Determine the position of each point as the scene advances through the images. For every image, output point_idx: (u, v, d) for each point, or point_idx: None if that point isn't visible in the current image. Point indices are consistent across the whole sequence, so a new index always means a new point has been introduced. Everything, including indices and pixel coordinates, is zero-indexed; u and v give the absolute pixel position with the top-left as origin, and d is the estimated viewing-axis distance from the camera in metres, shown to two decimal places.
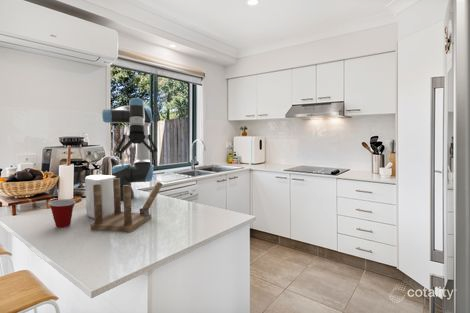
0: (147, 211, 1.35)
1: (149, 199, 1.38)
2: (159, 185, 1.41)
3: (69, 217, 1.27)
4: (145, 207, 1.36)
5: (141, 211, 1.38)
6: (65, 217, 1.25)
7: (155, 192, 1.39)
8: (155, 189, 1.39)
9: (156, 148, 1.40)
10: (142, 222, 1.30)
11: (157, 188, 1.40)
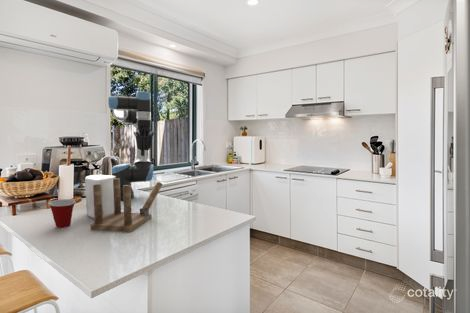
0: (147, 211, 1.35)
1: (149, 199, 1.38)
2: (159, 185, 1.41)
3: (69, 217, 1.27)
4: (145, 207, 1.36)
5: (141, 211, 1.38)
6: (65, 217, 1.25)
7: (155, 192, 1.39)
8: (155, 189, 1.39)
9: (150, 146, 1.53)
10: (142, 222, 1.30)
11: (157, 188, 1.40)
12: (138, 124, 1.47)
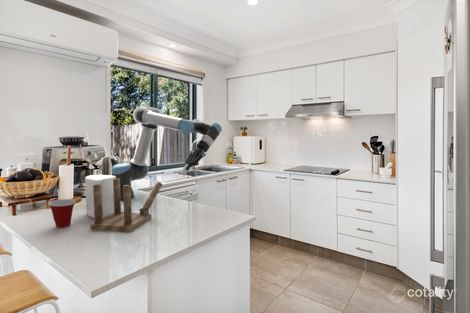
0: (147, 211, 1.35)
1: (149, 199, 1.38)
2: (159, 185, 1.41)
3: (69, 217, 1.27)
4: (145, 207, 1.36)
5: (141, 211, 1.38)
6: (65, 217, 1.25)
7: (155, 192, 1.39)
8: (155, 189, 1.39)
9: None
10: (142, 222, 1.30)
11: (157, 188, 1.40)
12: (205, 147, 1.58)
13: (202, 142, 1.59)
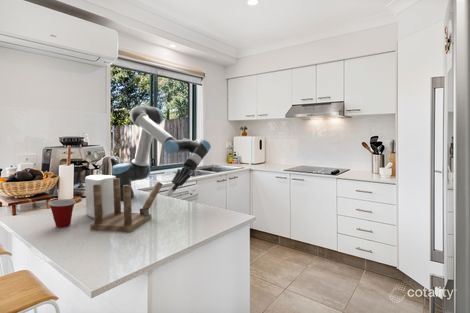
0: (147, 211, 1.35)
1: (149, 199, 1.38)
2: (159, 185, 1.41)
3: (69, 217, 1.27)
4: (145, 207, 1.36)
5: (141, 211, 1.38)
6: (65, 217, 1.25)
7: (155, 192, 1.39)
8: (155, 189, 1.39)
9: None
10: (142, 222, 1.30)
11: (157, 188, 1.40)
12: (193, 166, 1.53)
13: (190, 161, 1.53)
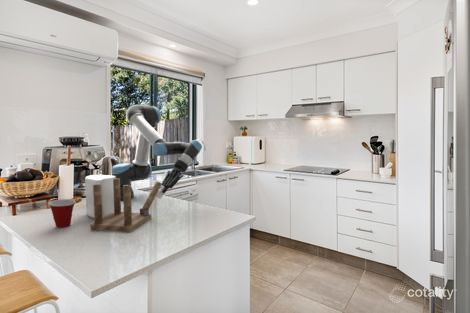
0: (147, 211, 1.35)
1: (149, 199, 1.37)
2: (158, 185, 1.40)
3: (69, 217, 1.27)
4: (145, 207, 1.36)
5: (141, 211, 1.38)
6: (65, 217, 1.25)
7: (154, 192, 1.39)
8: (154, 189, 1.39)
9: None
10: (142, 222, 1.30)
11: (156, 188, 1.40)
12: (183, 167, 1.48)
13: (180, 162, 1.48)
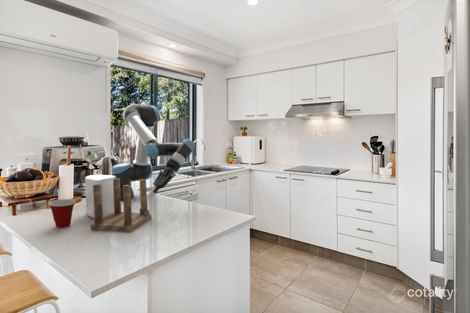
0: (147, 211, 1.35)
1: (142, 200, 1.35)
2: (143, 183, 1.34)
3: (69, 217, 1.27)
4: (143, 208, 1.35)
5: (141, 211, 1.38)
6: (65, 217, 1.25)
7: (143, 191, 1.34)
8: (142, 188, 1.34)
9: None
10: (142, 222, 1.30)
11: (143, 186, 1.34)
12: (176, 166, 1.44)
13: (172, 161, 1.44)
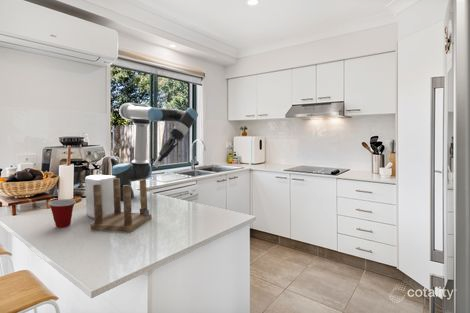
0: (147, 211, 1.35)
1: (142, 200, 1.35)
2: (143, 183, 1.34)
3: (69, 217, 1.27)
4: (143, 208, 1.35)
5: (141, 211, 1.38)
6: (65, 217, 1.25)
7: (143, 191, 1.34)
8: (142, 188, 1.34)
9: None
10: (142, 222, 1.30)
11: (143, 186, 1.34)
12: (178, 135, 1.48)
13: (174, 130, 1.48)
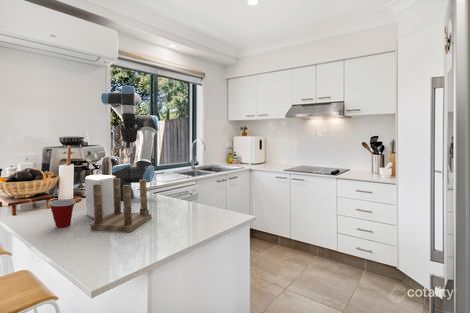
0: (147, 211, 1.35)
1: (142, 200, 1.35)
2: (143, 183, 1.34)
3: (69, 217, 1.27)
4: (143, 208, 1.35)
5: (141, 211, 1.38)
6: (65, 217, 1.25)
7: (143, 191, 1.34)
8: (142, 188, 1.34)
9: None
10: (142, 222, 1.30)
11: (143, 186, 1.34)
12: (123, 117, 1.52)
13: None
